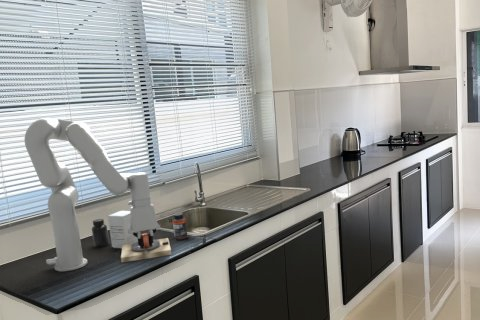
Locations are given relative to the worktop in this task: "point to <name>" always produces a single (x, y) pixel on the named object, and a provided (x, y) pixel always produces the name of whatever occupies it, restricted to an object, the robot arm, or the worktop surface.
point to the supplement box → (120, 229)
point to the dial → (145, 243)
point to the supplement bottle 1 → (100, 233)
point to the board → (145, 251)
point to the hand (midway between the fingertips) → (146, 245)
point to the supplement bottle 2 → (179, 226)
